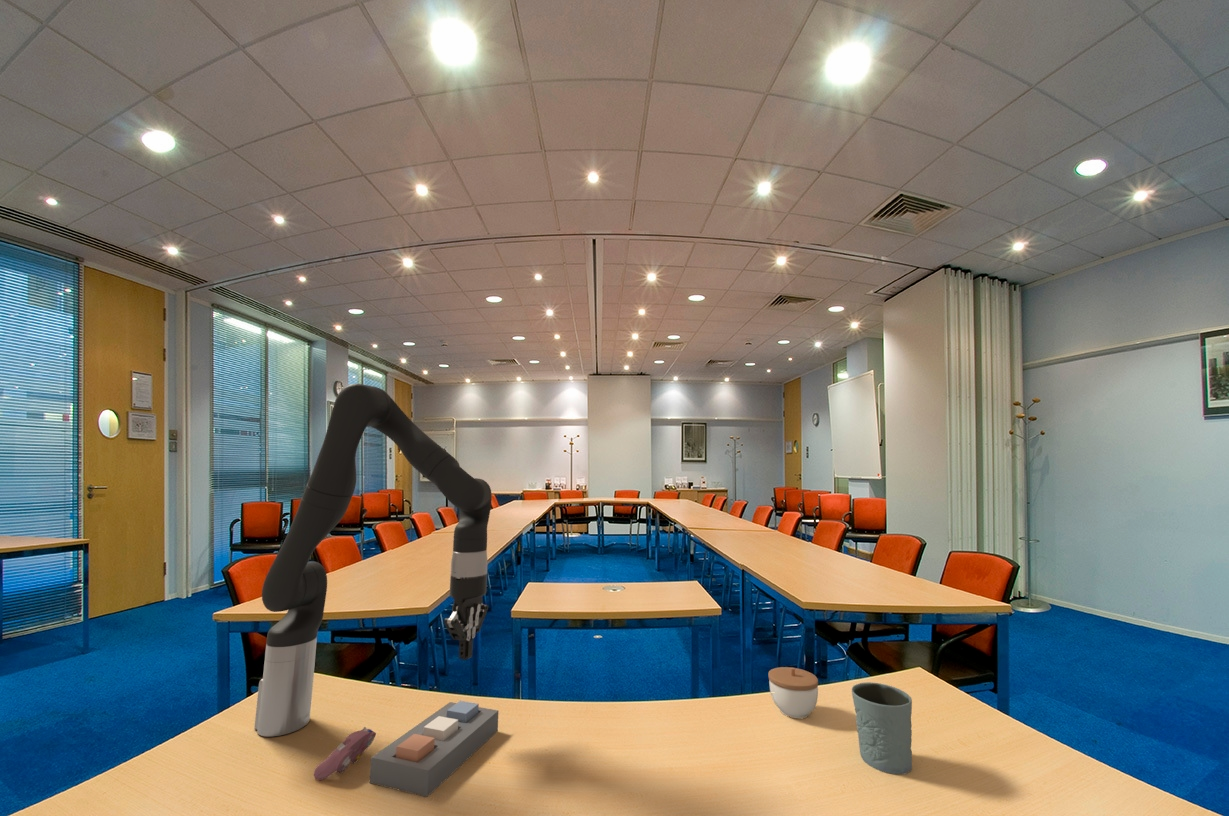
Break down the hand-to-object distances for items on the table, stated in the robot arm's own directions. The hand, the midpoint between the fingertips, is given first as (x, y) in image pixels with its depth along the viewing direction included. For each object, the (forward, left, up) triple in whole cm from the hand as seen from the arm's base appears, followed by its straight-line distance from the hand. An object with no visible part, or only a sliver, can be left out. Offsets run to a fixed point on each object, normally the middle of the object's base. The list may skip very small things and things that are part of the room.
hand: (465, 658), depth 100 cm
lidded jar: (+65, +33, -15) cm, 75 cm away
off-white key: (0, -7, -12) cm, 14 cm away
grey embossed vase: (+81, +18, -15) cm, 84 cm away
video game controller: (-14, -16, -15) cm, 26 cm away
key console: (0, -7, -15) cm, 17 cm away
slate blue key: (0, 0, -12) cm, 12 cm away
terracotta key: (0, -14, -12) cm, 18 cm away
